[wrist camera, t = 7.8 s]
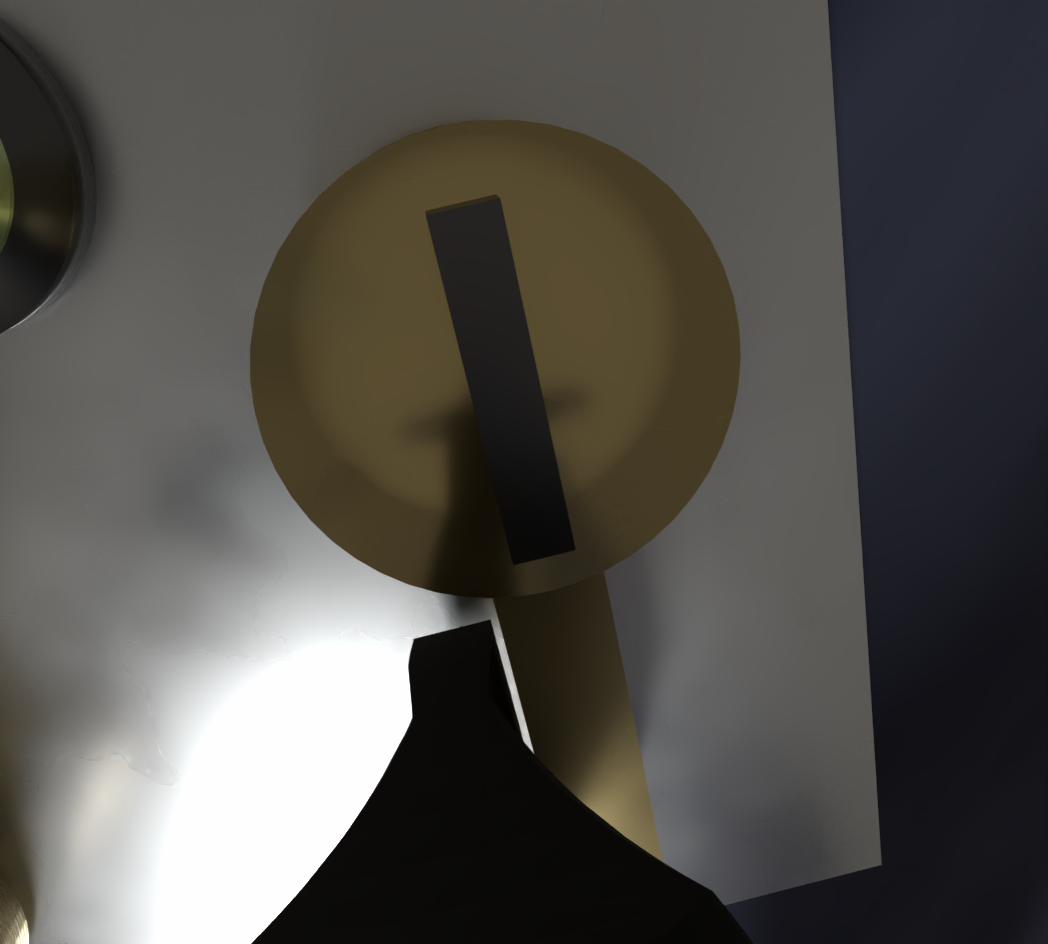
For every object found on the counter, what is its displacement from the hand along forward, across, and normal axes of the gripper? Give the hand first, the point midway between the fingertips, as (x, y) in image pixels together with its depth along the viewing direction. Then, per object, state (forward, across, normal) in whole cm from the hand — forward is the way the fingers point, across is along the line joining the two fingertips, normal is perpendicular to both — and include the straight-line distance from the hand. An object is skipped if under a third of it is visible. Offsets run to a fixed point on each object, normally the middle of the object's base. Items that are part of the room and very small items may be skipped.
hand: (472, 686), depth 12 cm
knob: (+1, -1, -2) cm, 2 cm away
